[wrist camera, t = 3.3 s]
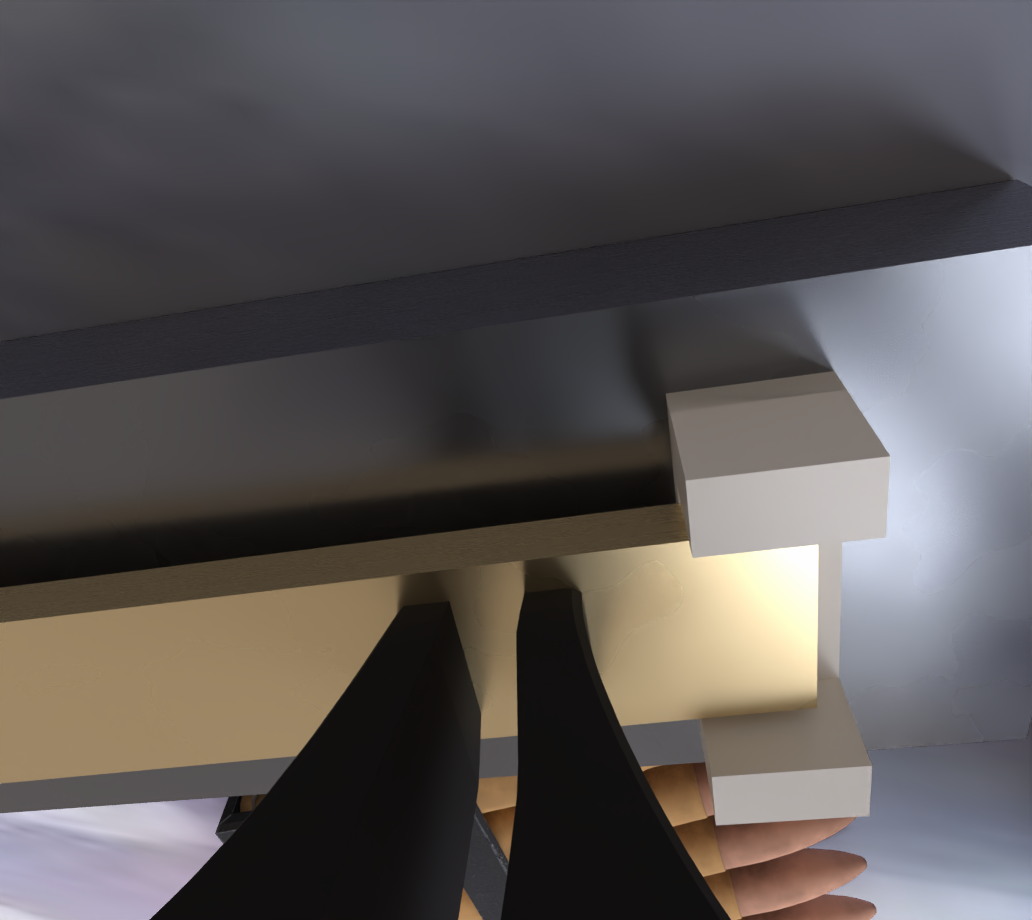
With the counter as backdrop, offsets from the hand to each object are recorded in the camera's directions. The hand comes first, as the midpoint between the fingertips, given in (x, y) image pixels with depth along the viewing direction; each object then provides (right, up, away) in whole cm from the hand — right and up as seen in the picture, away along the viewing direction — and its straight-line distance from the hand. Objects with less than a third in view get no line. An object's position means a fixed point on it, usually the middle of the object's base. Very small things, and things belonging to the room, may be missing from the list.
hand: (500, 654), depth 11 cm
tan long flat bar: (-3, 0, +1) cm, 3 cm away
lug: (+3, +1, +1) cm, 4 cm away
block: (-2, +2, +4) cm, 4 cm away
